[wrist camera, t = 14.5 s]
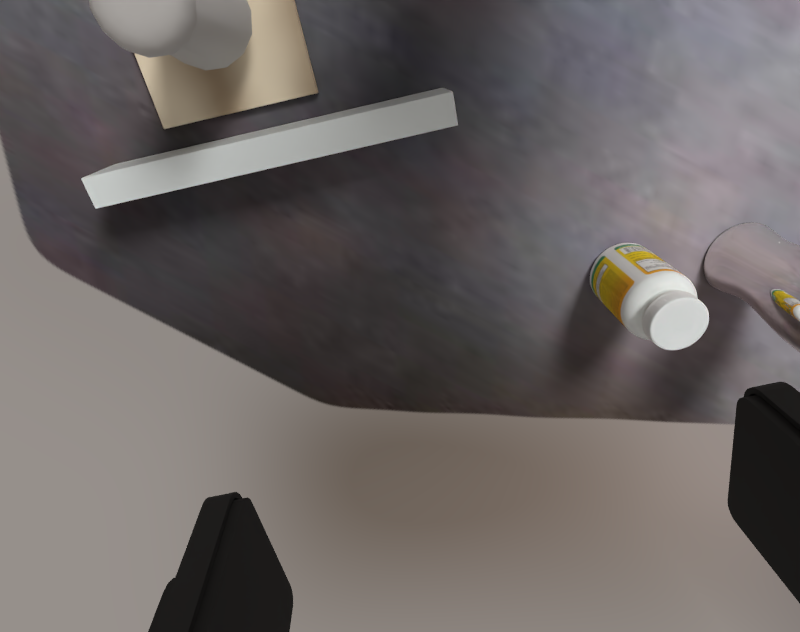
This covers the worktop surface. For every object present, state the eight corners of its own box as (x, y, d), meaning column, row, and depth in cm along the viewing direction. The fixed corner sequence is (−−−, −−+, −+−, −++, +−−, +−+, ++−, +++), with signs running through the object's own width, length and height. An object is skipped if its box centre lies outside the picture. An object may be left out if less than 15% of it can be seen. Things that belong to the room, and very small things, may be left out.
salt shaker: (148, -13, 33) (27, -52, 21) (231, -51, 32) (153, -113, 20) (197, 83, 35) (112, 96, 24) (274, 49, 35) (227, 45, 23)
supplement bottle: (633, 228, 42) (702, 271, 33) (662, 276, 44) (733, 329, 35) (575, 267, 43) (627, 319, 35) (605, 313, 45) (661, 372, 37)
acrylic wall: (442, 87, 37) (453, 91, 32) (447, 117, 38) (458, 125, 33) (114, 164, 38) (80, 178, 33) (127, 191, 39) (95, 208, 34)
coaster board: (268, -102, 32) (266, -105, 31) (318, 92, 36) (318, 92, 36) (93, -58, 32) (89, -60, 32) (166, 128, 37) (164, 129, 36)
